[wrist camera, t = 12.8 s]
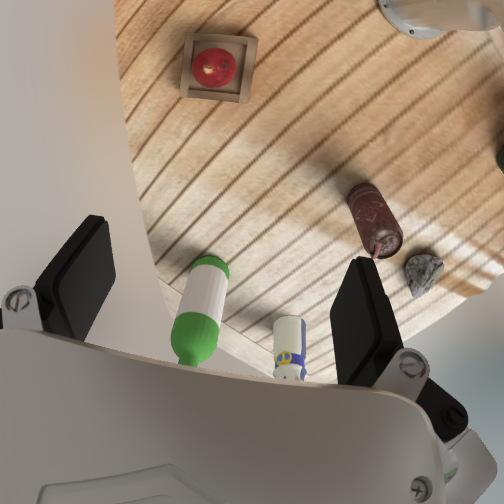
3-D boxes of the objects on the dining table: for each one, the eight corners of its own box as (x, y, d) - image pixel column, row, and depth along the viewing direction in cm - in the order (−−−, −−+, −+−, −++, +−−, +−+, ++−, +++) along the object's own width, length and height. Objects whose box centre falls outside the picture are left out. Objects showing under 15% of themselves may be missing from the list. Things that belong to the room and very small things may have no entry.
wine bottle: (199, 284, 68) (166, 412, 44) (187, 256, 63) (143, 388, 39) (234, 281, 66) (213, 414, 42) (224, 251, 62) (195, 389, 38)
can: (341, 209, 55) (357, 258, 44) (353, 178, 51) (375, 221, 40) (371, 217, 55) (393, 266, 44) (384, 187, 51) (412, 231, 40)
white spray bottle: (264, 320, 73) (258, 419, 53) (298, 310, 70) (302, 411, 50) (278, 340, 77) (276, 432, 57) (311, 331, 75) (316, 426, 54)
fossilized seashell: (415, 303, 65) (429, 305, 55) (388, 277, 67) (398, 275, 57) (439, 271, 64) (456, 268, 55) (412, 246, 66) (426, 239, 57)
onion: (237, 45, 37) (230, 45, 31) (240, 83, 41) (234, 90, 34) (197, 50, 38) (181, 51, 32) (200, 86, 41) (186, 94, 35)
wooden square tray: (191, 33, 38) (186, 32, 36) (258, 39, 39) (257, 38, 36) (185, 93, 44) (179, 96, 42) (248, 100, 45) (247, 104, 42)
